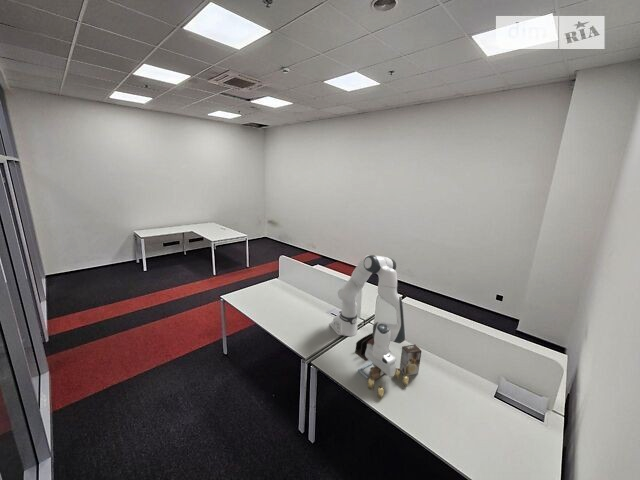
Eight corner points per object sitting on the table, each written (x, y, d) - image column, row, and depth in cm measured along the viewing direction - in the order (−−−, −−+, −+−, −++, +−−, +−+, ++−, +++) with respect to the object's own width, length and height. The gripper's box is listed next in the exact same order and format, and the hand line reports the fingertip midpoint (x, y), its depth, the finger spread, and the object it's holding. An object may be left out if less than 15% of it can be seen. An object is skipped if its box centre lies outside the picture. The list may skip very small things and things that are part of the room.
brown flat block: (370, 377, 152) (371, 368, 150) (382, 370, 158) (383, 362, 156) (373, 380, 150) (374, 371, 149) (385, 373, 156) (386, 364, 154)
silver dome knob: (370, 375, 155) (371, 372, 154) (369, 369, 159) (369, 367, 158) (378, 375, 155) (378, 372, 154) (376, 369, 159) (376, 367, 159)
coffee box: (412, 366, 163) (415, 343, 159) (418, 373, 157) (422, 350, 153) (399, 368, 160) (402, 346, 156) (404, 376, 154) (408, 353, 150)
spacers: (363, 383, 149) (363, 375, 147) (388, 368, 160) (388, 361, 159) (383, 402, 137) (384, 394, 136) (408, 384, 149) (409, 377, 147)
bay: (358, 370, 157) (358, 369, 157) (374, 361, 165) (374, 360, 165) (366, 378, 152) (367, 377, 151) (383, 369, 159) (383, 368, 159)
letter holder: (386, 348, 178) (388, 330, 174) (366, 361, 166) (368, 341, 162) (374, 341, 186) (376, 323, 182) (354, 352, 173) (356, 333, 170)
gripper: (363, 343, 156) (361, 363, 160) (390, 364, 140) (388, 386, 144) (371, 340, 160) (369, 359, 163) (398, 360, 144) (395, 381, 147)
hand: (378, 372), depth 153 cm, fingers closed on brown flat block, 2 cm apart
